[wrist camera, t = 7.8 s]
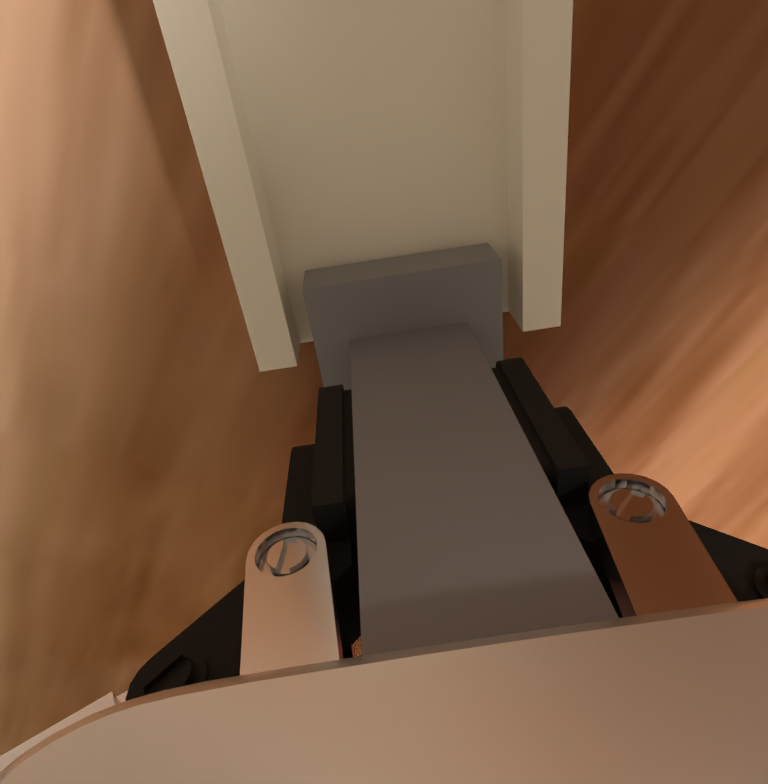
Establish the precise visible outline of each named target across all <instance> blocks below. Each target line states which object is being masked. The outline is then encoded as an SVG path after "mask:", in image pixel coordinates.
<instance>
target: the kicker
mask: <svg viewBox="0 0 768 784" xmlns="http://www.w3.org/2000/svg"><path fill="white" fill-rule="evenodd" d="M302 292H303V297H304V301H305V306H306V310H307V315H308V319H309V324H310V328H311V333H312V337H313V342H314V346H315V351H316V355H317V360H318V364H319V369H320V373H321V378H322V382H323V387H328V386H335V385H341V384H343V387H344V390H349V389H352V416H353V442H354V468H355V494H356V520H357V546H358V572H359V598H360V624H361V650H362V656H366V655H372V654H379V653H385V652H392V651H399V650H405V649H412V648H418V647H425V646H432V645H439V644H445V643H452V642H459V641H466V640H472V639H479V638H486V637H493V636H500V635H506V634H513V633H520V632H527V631H534V630H541V629H548V628H555V627H561V626H568V625H575V624H582V623H589V622H596V621H603V620H610V619H618V618H619V617H618V615H617V613H616V611H615V609H614V607H613V605H612V603H611V601H610V599H609V597H608V596H607V594H606V592H605V590H604V588H603V586H602V584H601V582H600V580H599V578H598V576H597V574H596V572H595V570H594V568H593V566H592V564H591V562H590V560H589V558H588V557H587V555H586V553H585V551H584V549H583V547H582V545H581V543H580V541H579V539H578V537H577V535H576V533H575V531H574V529H573V527H572V525H571V523H570V521H569V519H568V517H567V516H566V514H565V512H564V510H563V508H562V506H561V504H560V502H559V500H558V498H557V496H556V494H555V492H554V490H553V488H552V486H551V484H550V482H549V480H548V478H547V477H546V475H545V473H544V471H543V469H542V467H541V465H540V463H539V461H538V459H537V457H536V455H535V453H534V451H533V449H532V447H531V445H530V443H529V441H528V439H527V438H526V436H525V434H524V432H523V430H522V428H521V426H520V424H519V422H518V420H517V418H516V416H515V414H514V412H513V410H512V408H511V406H510V404H509V402H508V400H507V399H506V397H505V395H504V393H503V391H502V389H501V387H500V385H499V383H498V381H497V379H496V377H495V375H494V373H493V371H492V369H491V368H496V362H497V361H501V360H504V352H503V305H502V259H501V258H500V256H499V255H498V254H497V253H496V252H495V251H494V249H493V248H492V247H491V246H490V245H489V244H488V243H482V244H476V245H469V246H463V247H456V248H450V249H443V250H437V251H430V252H424V253H417V254H411V255H404V256H398V257H391V258H385V259H378V260H372V261H365V262H359V263H352V264H346V265H339V266H333V267H326V268H320V269H313V270H307V271H305V274H304V280H303V286H302Z"/></svg>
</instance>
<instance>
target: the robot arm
mask: <svg viewBox="0 0 768 784" xmlns="http://www.w3.org/2000/svg"><path fill="white" fill-rule="evenodd" d="M491 369H492V371H493V373H494V375H495V377H496V379H497V381H498V383H499V385H500V387H501V389H502V391H503V393H504V395H505V397H506V399H507V400H508V402H509V404H510V406H511V408H512V410H513V412H514V414H515V416H516V418H517V420H518V422H519V424H520V426H521V428H522V430H523V432H524V434H525V436H526V438H527V439H528V441H529V443H530V445H531V447H532V449H533V451H534V453H535V455H536V457H537V459H538V461H539V463H540V465H541V467H542V469H543V471H544V473H545V475H546V477H547V478H548V480H549V482H550V484H551V486H552V488H553V490H554V492H555V494H556V496H557V498H558V500H559V502H560V504H561V506H562V508H563V510H564V512H565V514H566V516H567V517H568V519H569V521H570V523H571V525H572V527H573V529H574V531H575V533H576V535H577V537H578V539H579V541H580V543H581V545H582V547H583V549H584V551H585V553H586V555H587V557H588V558H589V560H590V562H591V564H592V566H593V568H594V570H595V572H596V574H597V576H598V578H599V580H600V582H601V584H602V586H603V588H604V590H605V592H606V594H607V596H608V597H609V599H610V601H611V603H612V605H613V607H614V609H615V611H616V613H617V615H618V617H619V618H618V619H610V620H603V621H596V622H589V623H582V624H575V625H568V626H561V627H555V628H548V629H541V630H534V631H527V632H520V633H513V634H506V635H500V636H493V637H486V638H479V639H472V640H466V641H459V642H452V643H445V644H439V645H432V646H425V647H418V648H412V649H405V650H399V651H392V652H385V653H379V654H372V655H366V656H359V657H355V651H354V647H353V643H354V642H355V641H356V640H357V639H358V638H359V637H360V636H361V624H360V598H359V572H358V546H357V520H356V494H355V468H354V442H353V416H352V389H349V390H344V387H343V384H341V385H335V386H328V387H321V388H319V394H318V409H317V424H316V439H315V444H312V445H305V446H298V447H293V448H292V451H291V457H290V464H289V472H288V480H287V488H286V496H285V504H284V511H283V519H282V524H281V525H278V526H275V527H272V528H271V529H269V530H267V531H266V532H264V533H263V534H261V535H260V536H259V537H258V538H257V539H256V540H255V541H254V542H253V544H252V546H251V547H250V549H249V550H248V554H247V558H246V569H245V580H244V581H242V582H241V583H240V584H239V585H238V586H237V587H235V588H234V589H233V590H232V591H231V592H229V593H228V594H227V595H226V596H225V597H223V598H222V599H221V600H220V601H219V602H217V603H216V604H215V605H214V606H213V607H211V608H210V609H209V610H208V611H207V612H205V613H204V614H203V615H202V616H201V617H200V618H198V619H197V620H196V621H195V622H194V623H192V624H191V625H190V626H189V627H188V628H186V629H185V630H184V631H183V632H182V633H180V634H179V635H178V636H177V637H176V638H174V639H173V640H172V641H171V642H170V643H168V644H167V645H166V646H165V647H164V648H162V649H161V650H160V651H159V652H158V653H157V654H155V655H154V656H153V657H152V658H151V659H150V660H149V661H148V662H147V663H146V664H145V665H144V666H143V667H142V668H141V669H140V670H139V671H138V673H137V674H136V676H135V677H134V679H133V680H132V682H131V684H130V686H129V689H128V690H127V691H126V692H124V693H122V694H120V695H119V696H117V697H116V696H115V695H114V693H113V692H110V693H108V694H107V695H105V696H103V697H101V698H100V699H98V700H96V701H94V702H93V703H91V704H89V705H88V706H86V707H84V708H82V709H81V710H79V711H77V712H75V713H74V714H72V715H70V716H69V717H67V718H65V719H63V720H62V721H60V722H58V723H56V724H55V725H53V726H51V727H50V728H48V729H46V730H44V731H43V732H41V733H39V734H37V735H36V736H34V737H32V738H31V739H29V740H27V741H25V742H24V743H22V744H20V745H18V746H17V747H15V748H13V749H11V750H10V751H8V752H6V753H5V754H3V755H1V756H0V784H768V549H766V548H763V547H760V546H757V545H755V544H752V543H749V542H746V541H744V540H741V539H738V538H735V537H733V536H730V535H727V534H725V533H722V532H719V531H716V530H714V529H711V528H708V527H705V526H703V525H700V524H697V523H695V522H692V521H689V520H688V519H687V517H686V516H685V514H684V512H683V511H682V509H681V507H680V506H679V504H678V502H677V501H676V499H675V498H674V496H673V495H672V494H671V493H670V492H669V490H668V489H667V488H665V487H664V486H662V485H661V484H660V483H658V482H657V481H654V480H652V479H649V478H647V477H644V476H640V475H635V474H622V473H618V474H614V473H613V472H612V471H611V469H610V468H609V466H608V465H607V463H606V462H605V460H604V459H603V457H602V456H601V454H600V453H599V451H598V450H597V448H596V447H595V446H594V444H593V443H592V441H591V440H590V438H589V437H588V435H587V434H586V432H585V431H584V429H583V428H582V426H581V425H580V423H579V422H578V420H577V419H576V418H575V416H574V415H573V413H572V412H571V410H570V409H569V408H568V407H559V408H554V407H553V406H552V404H551V403H550V401H549V400H548V398H547V396H546V395H545V393H544V392H543V390H542V389H541V387H540V385H539V384H538V382H537V381H536V379H535V378H534V376H533V374H532V373H531V371H530V370H529V368H528V366H527V365H526V363H525V362H524V360H523V359H522V358H514V359H507V360H501V361H497V362H496V368H491Z"/></svg>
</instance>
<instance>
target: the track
mask: <svg viewBox="0 0 768 784" xmlns="http://www.w3.org/2000/svg"><path fill="white" fill-rule="evenodd" d="M153 3H154V7H155V10H156V14H157V17H158V21H159V24H160V28H161V31H162V35H163V38H164V41H165V45H166V48H167V52H168V55H169V59H170V62H171V66H172V69H173V73H174V76H175V80H176V83H177V87H178V90H179V93H180V97H181V100H182V104H183V107H184V111H185V114H186V118H187V121H188V125H189V128H190V132H191V135H192V139H193V142H194V146H195V149H196V152H197V156H198V159H199V163H200V166H201V170H202V173H203V177H204V180H205V184H206V187H207V191H208V194H209V198H210V201H211V204H212V208H213V211H214V215H215V218H216V222H217V225H218V229H219V232H220V236H221V239H222V243H223V246H224V250H225V253H226V257H227V260H228V263H229V267H230V270H231V274H232V277H233V281H234V284H235V288H236V291H237V295H238V298H239V302H240V305H241V309H242V312H243V315H244V319H245V322H246V326H247V329H248V333H249V336H250V340H251V343H252V347H253V350H254V354H255V357H256V361H257V364H258V368H259V371H260V372H262V371H269V370H275V369H282V368H288V367H295V366H297V364H298V357H299V350H300V343H306V342H312V341H313V337H312V333H311V328H310V324H309V319H308V315H307V310H306V306H305V301H304V297H303V292H302V286H303V280H304V274H305V271H307V270H313V269H320V268H326V267H333V266H339V265H346V264H352V263H359V262H365V261H372V260H378V259H385V258H391V257H398V256H404V255H411V254H417V253H424V252H430V251H437V250H443V249H450V248H456V247H463V246H469V245H476V244H482V243H488V244H489V245H490V246H491V247H492V248H493V249H494V251H495V252H496V253H497V254H498V255H499V256H500V258H501V259H502V305H503V312H509V313H510V314H511V316H512V317H513V319H514V320H515V321H516V323H517V324H518V326H519V327H520V328H521V330H522V331H523V332H525V331H531V330H538V329H545V328H551V327H558V326H561V304H562V278H563V252H564V226H565V200H566V174H567V148H568V122H569V96H570V70H571V44H572V18H573V0H153Z"/></svg>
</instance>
